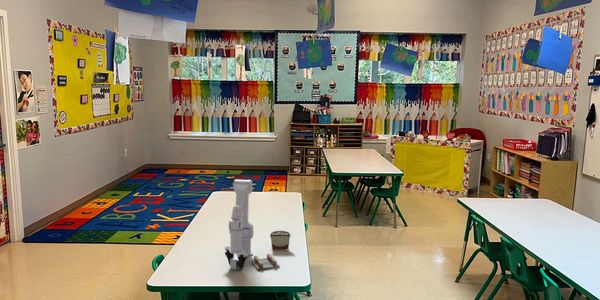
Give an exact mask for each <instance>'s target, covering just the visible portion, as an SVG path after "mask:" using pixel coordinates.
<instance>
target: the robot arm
mask: <svg viewBox="0 0 600 300" xmlns="http://www.w3.org/2000/svg"><path fill="white" fill-rule="evenodd" d="M232 186H233V188H232V189H233V190H234V193H235V206H233V207H232V213H231V218H230V220H228V221H229V222H228V229H229V230H228V231H229V234H230V245H227V246H224V251H225V252H224V255H225V256H226V258H227V262H228V264H229V266H230V259H231V258H234V257H235V254H237V255H238V256H236V257H237V258H238V260H239V268H240V269H242V270H243V269H244V266H245V263H246V260H247V258H248V256H254V253H253V252H252V250H251V247H252V244H251V243H252V240H251V239H252V238H253V237H254V225H253V224H252V223H251V222H250V221H249V197H250V194H253V181H252V179H234V181H233V183H232Z"/></svg>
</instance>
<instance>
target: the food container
mask: <svg viewBox="0 0 600 300" xmlns="http://www.w3.org/2000/svg"><path fill="white" fill-rule="evenodd" d="M291 236H292V235H291V233H290V231H287V230H274V231H272V232H270V234H269V237H270V241H271V242H270V243H271V250H272V251H287V250H286V249H288V250H289V246H290V238H291Z"/></svg>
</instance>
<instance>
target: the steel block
mask: <svg viewBox="0 0 600 300" xmlns="http://www.w3.org/2000/svg"><path fill="white" fill-rule="evenodd" d="M237 257H238V256H234V257H233V258H231V259H230V265H229V268H230V271H233V272H235V273H238V272H239V271H242V270H243V268H242V269H240V268H239V260H238V258H237Z"/></svg>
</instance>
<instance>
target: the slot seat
mask: <svg viewBox="0 0 600 300" xmlns="http://www.w3.org/2000/svg"><path fill="white" fill-rule="evenodd" d="M250 262H251V264H252V265H253V266H254V268H255V269H256V270H257V271H258V272H260V271H266V270H271V269H272V268H273V269H277V267H279V268H280V265H279V263H277V260H276V258H274V257H273V255H272V254H270V253H267V254H266V258H264V257H263V258H259V257H258V256H257V255H253V259H252V260H251V261H250Z"/></svg>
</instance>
